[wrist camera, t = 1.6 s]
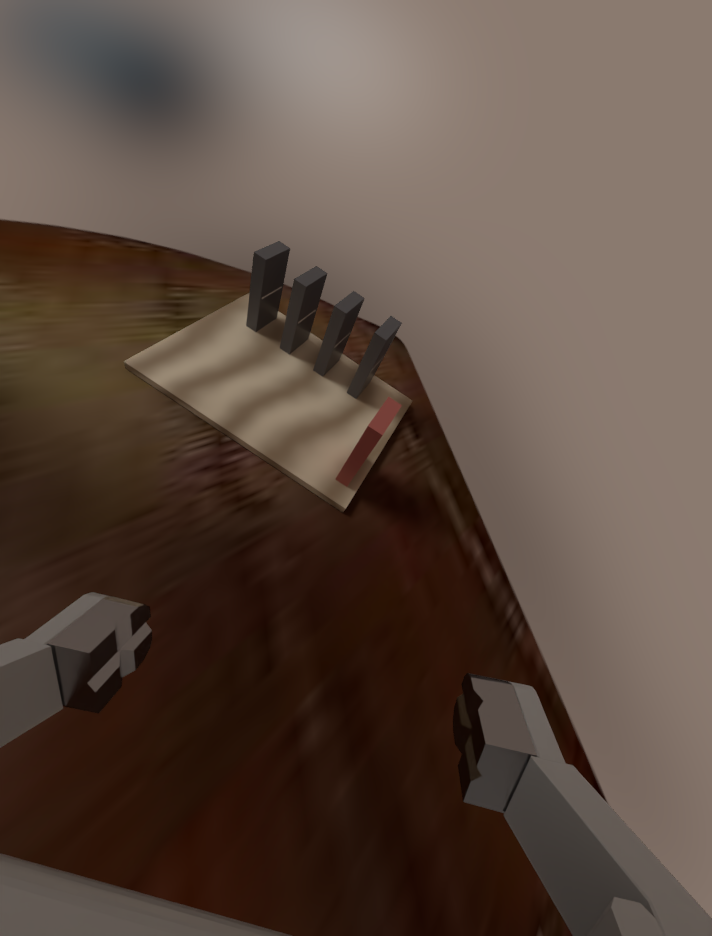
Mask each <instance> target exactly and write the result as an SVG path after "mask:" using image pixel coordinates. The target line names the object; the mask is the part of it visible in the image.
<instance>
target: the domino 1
mask: <svg viewBox="0 0 712 936" xmlns="http://www.w3.org/2000/svg"><path fill="white" fill-rule="evenodd" d="M289 251H290V248H289V247H287V246H286V245H284V244H283V243H281V242H280V241H278V242H276V243H274V244H272V245H269V246H267V247H265V248H262V249H260V250H258V251H255V252H254V257H253V266H252V275H251V285H250V294H249V303H248V312H247V321H246V326H247V327H249V328H250V329H252V330H253V331H255V332H257V331H258V330H260V329H261V328H263V327H264V326H266V325H267V324H269V323H270V322H272V321H273V320H275V319H276V318H277V315H278V309H279V304H280V299H281V294H282V288H283V283H284V278H285V272H286V266H287V262H288V256H289Z"/></svg>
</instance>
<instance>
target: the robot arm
mask: <svg viewBox="0 0 712 936" xmlns="http://www.w3.org/2000/svg"><path fill="white" fill-rule="evenodd" d="M150 617H151V614H150V607H149V606H147V605H145V604H141V603H137V602H133V601H129V600H125V599H120V598H116V597H112V596H107V595H103V594H99V593H94V592H91V593H88V594H85V595H83V596H82V597H80V598H79V599H78V600H76V601H75V602H74V603H72V604H71V605H70V606H68V607H67V608H66V609H64V610H63V611H62V612H60V613H59V614H58V615H56V616H55V617H54V618H52V619H51V620H50V621H48V622H47V623H45V624H44V625H43V626H41V627H40V628H39V629H37V630H36V631H35V632H33V633H32V634H31V635H29V636H28V637H27V638H25V639H19V638H17V639H15V640H12V641H9V642H7V643H4V644H1V645H0V747H2V746H4V745H5V744H7V743H8V742H10V741H12V740H13V739H15V738H17V737H18V736H20V735H21V734H23V733H25V732H26V731H28V730H29V729H31V728H33V727H34V726H36V725H38V724H39V723H41V722H42V721H44V720H46V719H47V718H49V717H50V716H52V715H54V714H55V713H57V712H59V711H60V710H62V709H63V706H65V707H70V708H75V709H80V710H84V711H89V712H94V713H99V712H100V711H101V710H102V709H103V708H104V707H105V705H106V704H107V703H108V702H109V701H110V700H111V698H112V697H113V696H114V695H115V694H116V693H117V691H118V690H119V689H120V688H121V686H122V678H123V677H124V676H125V675H127V674H129V673H131V672H133V671H135V670H136V669H137V668H138V666H139V665H140V664H141V663H142V662H143V660H144V659H145V657H146V655H147V653H148V651H149V649H150V646H151V641H152V630H151V629H150V627H149V626H148V625H147V623H146V621H147V620H148V619H149V618H150ZM462 690H463V694H462V695H461V696H459V697H457V700H456V703H455V707H454V715H453V733H454V741H455V745H456V746H457V748H458V749H459V751H460V752H461V753H462V755H461V758H460V761H459V764H458V770H459V776H460V783H461V790H462V797H463V802H466V803H469V804H473V805H477V806H480V807H484V808H488V809H491V810H495V811H498V812H502V813H504V817H505V819H506V821H507V822H508V824H509V826H510V828H511V829H512V831H513V833H514V834H515V836H516V838H517V840H518V841H519V843H520V845H521V847H522V848H523V850H524V852H525V854H526V855H527V857H528V859H529V860H530V862H531V864H532V866H533V867H534V869H535V871H536V873H537V874H538V876H539V878H540V880H541V881H542V883H543V885H544V886H545V888H546V890H547V892H548V893H549V895H550V897H551V899H552V900H553V902H554V904H555V905H556V907H557V909H558V911H559V912H560V914H561V916H562V918H563V919H564V921H565V923H566V925H567V926H568V928H569V930H570V931H571V933H572V935H573V936H712V918H711V917H710V916H709V915H708V914H707V913H706V912H705V911H704V910H703V908H702V907H701V906H700V905H699V904H698V903H697V902H696V901H695V899H694V898H693V897H692V896H691V895H690V894H689V893H688V892H687V891H686V890H685V888H684V887H682V885H681V884H680V883H679V882H678V881H677V880H676V879H675V877H674V876H673V875H672V874H671V873H670V872H669V871H668V870H667V869H666V868H665V866H664V865H663V864H662V863H661V862H660V861H659V860H658V859H657V858H656V857H655V855H654V854H653V853H652V852H651V851H650V850H649V849H648V848H647V847H646V845H645V844H644V843H643V842H642V841H641V840H640V839H639V838H638V837H637V836H636V835H635V833H634V832H633V831H632V830H631V829H630V828H629V827H628V826H627V825H626V823H624V821H623V820H622V819H621V818H620V817H619V816H618V815H617V814H616V812H615V811H614V810H613V809H612V808H611V807H610V806H609V805H608V804H607V803H606V801H605V800H604V799H603V798H602V797H601V796H600V795H599V794H598V793H597V791H596V790H595V789H594V788H593V787H592V786H591V785H590V784H589V783H588V782H587V780H586V779H585V778H584V777H583V776H582V775H581V774H580V773H579V772H578V771H577V769H576V768H575V767H574V766H573V765H569V764H566V763H565V761H564V759H563V756H562V754H561V751H560V749H559V746H558V744H557V742H556V739H555V737H554V734H553V732H552V729H551V727H550V725H549V722H548V720H547V717H546V715H545V712H544V710H543V707H542V705H541V703H540V700H539V698H538V695H537V693H536V691H535V690H534V688H533V687H532V686H528V685H523V684H518V683H513V682H508V681H504V680H499V679H494V678H489V677H484V676H479V675H474V674H469V673H467V674H466V675H465V676H464V679H463V681H462ZM0 936H292V935H288V934H285V933H281V932H278V931H274V930H271V929H267V928H263V927H260V926H256V925H253V924H249V923H246V922H242V921H239V920H235V919H231V918H228V917H224V916H221V915H217V914H214V913H210V912H207V911H203V910H200V909H196V908H192V907H189V906H185V905H182V904H178V903H175V902H171V901H168V900H164V899H161V898H157V897H153V896H150V895H146V894H143V893H139V892H136V891H132V890H129V889H125V888H122V887H118V886H114V885H111V884H107V883H104V882H100V881H97V880H93V879H90V878H86V877H82V876H79V875H75V874H72V873H68V872H65V871H61V870H58V869H54V868H51V867H47V866H43V865H40V864H36V863H33V862H29V861H26V860H22V859H19V858H15V857H11V856H8V855H4V854H1V853H0Z"/></svg>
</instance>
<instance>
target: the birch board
mask: <svg viewBox="0 0 712 936" xmlns="http://www.w3.org/2000/svg"><path fill="white" fill-rule="evenodd" d="M249 294H250V293H248V294H246V295H245V296H243V297H241V298H239V299H237V300H235V301H234V302H232V303H230V304H228V305H226V306H224V307H223V308H221V309H219V310H217V311H215V312H213V313H212V314H210V315H208V316H206V317H204V318H202V319H201V320H199V321H197V322H195V323H193V324H191V325H190V326H188V327H186V328H184V329H182V330H180V331H179V332H177V333H175V334H173V335H171V336H169V337H168V338H166V339H164V340H162V341H160V342H158V343H157V344H155V345H153V346H151V347H149V348H147V349H146V350H144V351H142V352H140V353H138V354H136V355H135V356H133V357H131V358H129V359H127V360H125V361H124V364H125V368H126V369H127V370H129V371H130V372H132V373H133V374H135V375H136V376H138V377H139V378H141V379H142V380H144V381H145V382H147V383H148V384H150V385H151V386H153V387H154V388H156V389H157V390H159V391H161V392H162V393H164V394H165V395H167V396H168V397H170V398H171V399H173V400H174V401H176V402H177V403H179V404H180V405H182V406H183V407H185V408H186V409H188V410H189V411H191V412H192V413H194V414H195V415H197V416H198V417H200V418H201V419H203V420H204V421H206V422H207V423H209V424H210V425H212V426H213V427H215V428H216V429H218V430H219V431H221V432H222V433H224V434H225V435H227V436H228V437H230V438H231V439H233V440H234V441H236V442H237V443H239V444H240V445H242V446H243V447H245V448H246V449H248V450H249V451H251V452H252V453H254V454H255V455H257V456H258V457H260V458H261V459H263V460H264V461H266V462H267V463H269V464H270V465H272V466H273V467H275V468H276V469H278V470H279V471H281V472H282V473H284V474H285V475H287V476H288V477H290V478H291V479H293V480H294V481H296V482H298V483H299V484H301V485H302V486H304V487H305V488H307V489H308V490H310V491H311V492H313V493H314V494H316V495H317V496H319V497H320V498H322V499H323V500H325V501H326V502H328V503H329V504H331V505H332V506H334V507H335V508H337V509H338V510H340V511H341V512H344V511H345V509H346V508H347V506H348V504H349V503H350V501H351V500H352V498H353V496H354V495H355V493H356V491H357V490H358V488H359V487H360V485H361V483H362V482H363V480H364V479H365V477H366V475H367V474H368V472H369V470H370V469H371V467H372V466H373V464H374V462H375V461H376V459H377V457H378V456H379V454H380V453H381V451H382V449H383V448H384V446H385V445H386V443H387V441H388V440H389V438H390V436H391V435H392V433H393V432H394V430H395V428H396V427H397V425H398V424H399V422H400V420H401V419H402V417H403V415H404V414H405V412H406V411H407V409H408V407H409V406H410V404H411V402H412V400H410V399H409V398H407V397H406V396H404V395H403V394H401V393H400V392H398V391H397V390H395V389H394V388H392V387H391V386H389V385H388V384H386V383H385V382H383V381H382V380H380V379H379V378H377V377H376V376H373V378H372V380H371V382H370V383H369V384H368V385H367V386H366V388H365V389H364V390H363V391H362V393H361V394H360V395H359V396H358V398H357V399H355V398H354V397H352V396H351V395H349V394H348V393H347V390H348V388H349V386H350V384H351V382H352V380H353V378H354V376H355V373H356V371H357V369H358V367H359V365H358V364H356V363H355V362H353V361H352V360H350V359H349V358H347V357H346V356H345V355H343V354H342V355H341V358H340V360H339V361H338V362H337V363H336V364H335V365H334V366H333V367H332V368H331V369H330V370H329V371H328V372H327V373H326V374H325V375H324V376H323V377H322V376H321V375H319V374H318V373H316V372H315V371H313V369H314V366H315V363H316V360H317V357H318V354H319V351H320V348H321V345H322V342H323V341H322V340H321V339H319V338H318V337H316V336H315V335H313V334H312V333H310V335H309V338H308V340H307V341H305V342H304V343H303V344H302V345H300V346H299V347H298V348H297V349H296V350H294V351H293V352H292V353H291V354H288V353H286V352H285V351H283V350H282V349H280V344H281V339H282V334H283V330H284V325H285V320H286V316H285V315H283V314H282V313H280V312H279V311H278V315H277V318H276V319H275V320H273V321H272V322H270V323H269V324H267V325H266V326H264V327H263V328H261V329H260V330H258V331H257V332H255V331H253V330H252V329H250V328H249V327H247V326H246V321H247V312H248V303H249ZM388 397H390V398H391V399H393V400H394V401H396V402H397V403H399V404H400V405H402V406H401V408H400V409H399V411H398V412H397V414H396V415H395V417H394V419H393V420H392V422H391V423H390V425H389V426H388V428H387V429H386V431H385V433H384V434H383V436H382V437H381V439H380V440H379V441H378V443H377V444H376V446H375V447H374V449H373V450H372V452H371V453H370V454H369V456H368V457H367V459H366V460H365V462H364V463H363V464H362V466H361V467H360V469H359V470H358V472H357V473H356V475H355V476H354V477H353V479H352V480H351V482H350V483H349V485H348V486H347V487H346V486H345V485H343V484H342V483H340V482H339V481H337V480H336V477H337V475H338V474H339V472H340V471H341V469H342V467H343V466H344V464H345V462H346V461H347V459H348V457H349V456H350V454H351V453H352V451H353V449H354V448H355V446H356V444H357V443H358V441H359V439H360V438H361V436H362V435H363V433H364V431H365V430H366V428H367V426H368V425H369V424H370V422H371V421H372V419H373V418H374V416H375V415H376V414H377V412H378V411H379V409H380V408H381V407H382V405H383V404H384V402H385V401H386V400H387V398H388Z"/></svg>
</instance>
